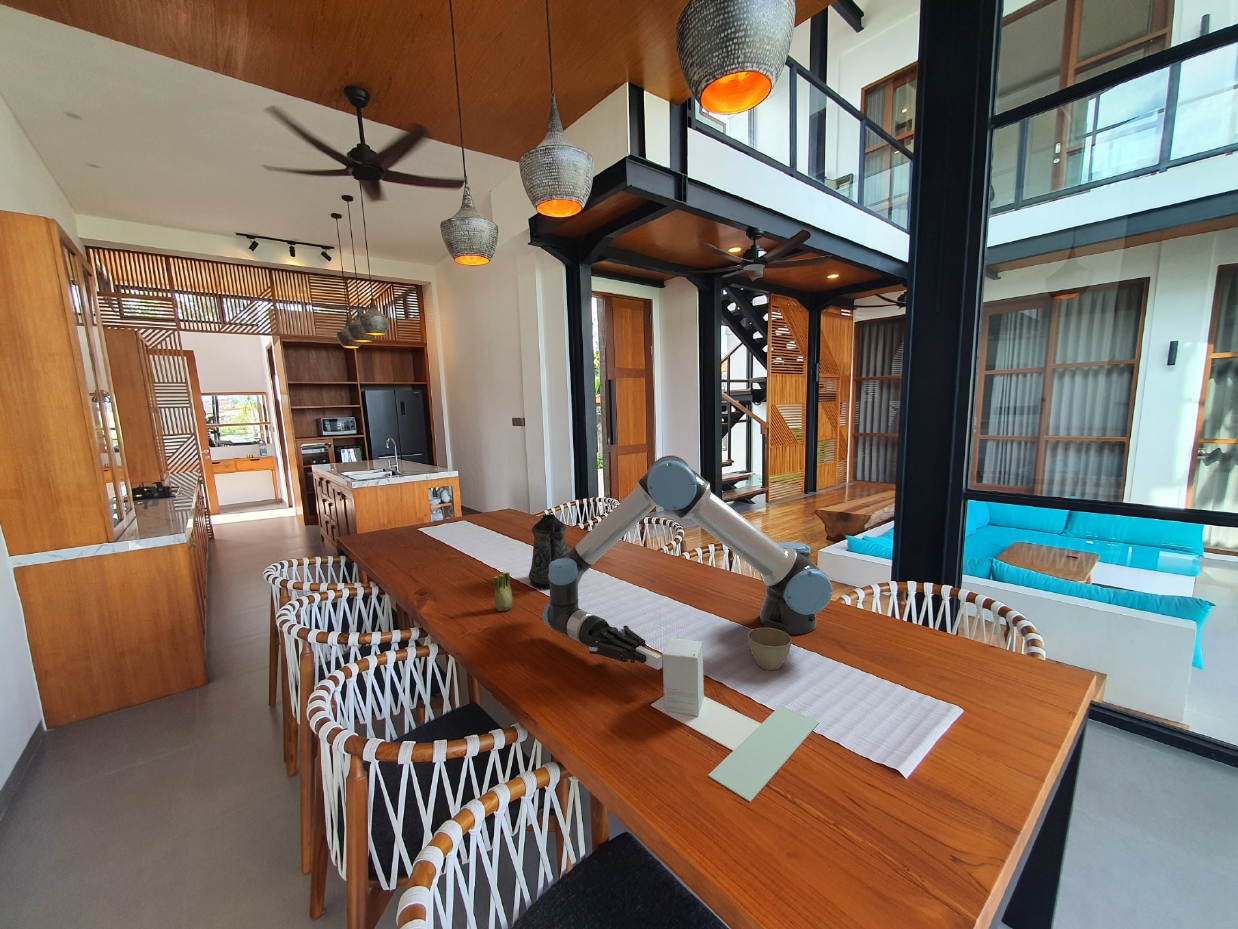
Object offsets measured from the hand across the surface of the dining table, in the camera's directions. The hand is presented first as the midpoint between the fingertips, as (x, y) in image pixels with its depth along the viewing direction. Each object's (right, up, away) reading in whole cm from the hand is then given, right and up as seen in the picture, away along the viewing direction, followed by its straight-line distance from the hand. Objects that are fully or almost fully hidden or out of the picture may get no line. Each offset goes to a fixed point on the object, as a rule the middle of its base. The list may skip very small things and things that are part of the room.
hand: (659, 662), depth 105 cm
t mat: (+11, -8, -10) cm, 17 cm away
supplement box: (+5, -7, -4) cm, 9 cm away
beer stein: (-32, 0, +71) cm, 78 cm away
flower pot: (+27, -5, +11) cm, 30 cm away
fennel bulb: (-46, -3, +48) cm, 66 cm away
